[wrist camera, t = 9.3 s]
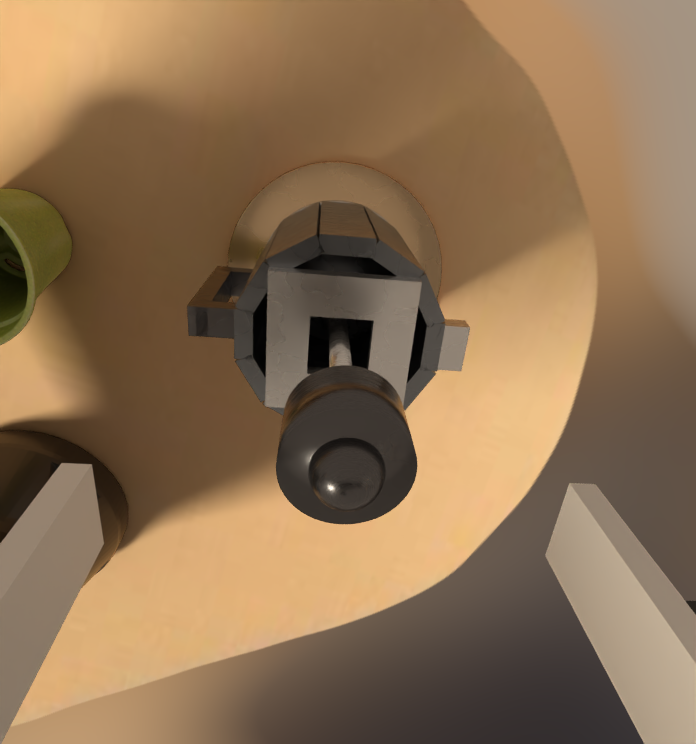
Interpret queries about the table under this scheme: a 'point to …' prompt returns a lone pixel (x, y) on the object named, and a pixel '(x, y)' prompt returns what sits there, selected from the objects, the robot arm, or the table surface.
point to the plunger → (344, 426)
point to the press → (331, 283)
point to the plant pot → (28, 255)
